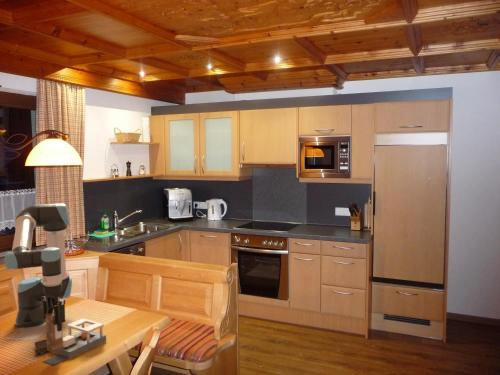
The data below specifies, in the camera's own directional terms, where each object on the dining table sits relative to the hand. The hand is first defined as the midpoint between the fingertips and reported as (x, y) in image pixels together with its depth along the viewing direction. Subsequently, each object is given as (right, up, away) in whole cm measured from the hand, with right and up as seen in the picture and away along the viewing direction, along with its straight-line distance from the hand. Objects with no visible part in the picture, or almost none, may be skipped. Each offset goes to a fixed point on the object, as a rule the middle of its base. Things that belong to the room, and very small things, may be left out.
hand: (54, 336), depth 180 cm
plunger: (+6, -8, +18) cm, 20 cm away
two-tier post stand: (+5, -10, +14) cm, 18 cm away
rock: (-10, -11, +12) cm, 19 cm away
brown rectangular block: (0, -6, 0) cm, 6 cm away
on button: (+1, -7, +9) cm, 11 cm away
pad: (0, -11, +1) cm, 11 cm away
